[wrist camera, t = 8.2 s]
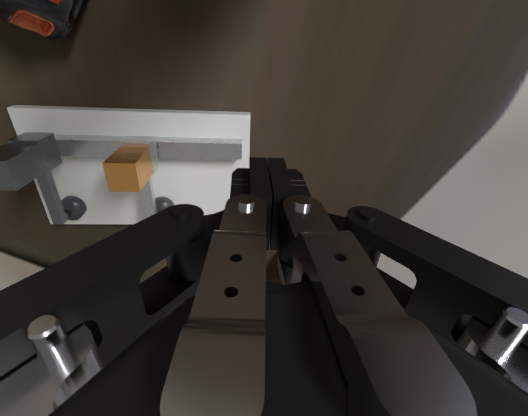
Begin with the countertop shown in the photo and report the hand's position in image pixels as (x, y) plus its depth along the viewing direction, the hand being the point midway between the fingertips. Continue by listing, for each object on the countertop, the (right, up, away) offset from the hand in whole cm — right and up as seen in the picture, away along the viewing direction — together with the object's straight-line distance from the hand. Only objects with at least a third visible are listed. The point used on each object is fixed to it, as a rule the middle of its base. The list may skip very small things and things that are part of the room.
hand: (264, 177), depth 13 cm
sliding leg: (-14, +2, +25) cm, 29 cm away
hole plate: (-16, +4, +27) cm, 32 cm away
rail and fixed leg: (-16, +3, +26) cm, 31 cm away
